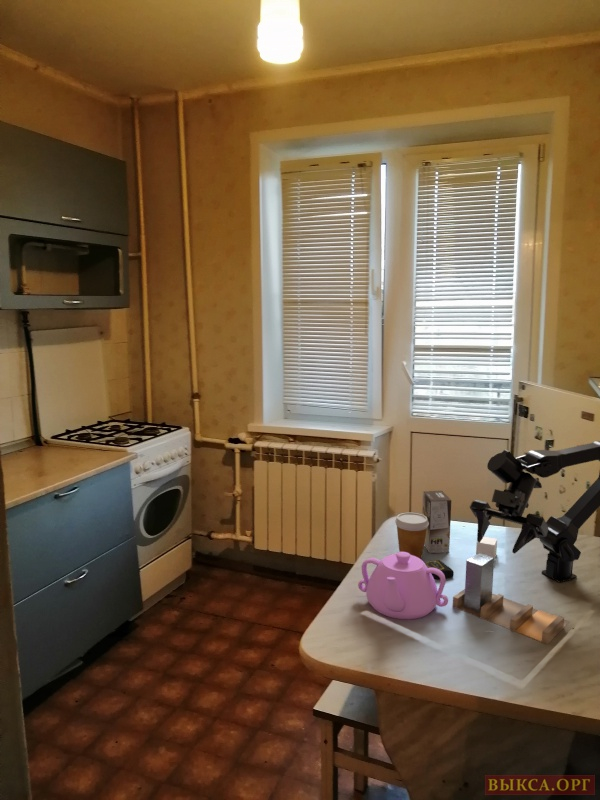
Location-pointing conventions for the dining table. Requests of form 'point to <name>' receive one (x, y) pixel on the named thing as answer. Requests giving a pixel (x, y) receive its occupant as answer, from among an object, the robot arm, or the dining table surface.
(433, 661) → the dining table surface
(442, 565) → the tape measure
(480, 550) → the cream white cube
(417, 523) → the disposable coffee cup
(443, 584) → the teapot
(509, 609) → the rail rack
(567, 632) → the dining table surface
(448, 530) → the coffee box
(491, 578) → the tall grey box
